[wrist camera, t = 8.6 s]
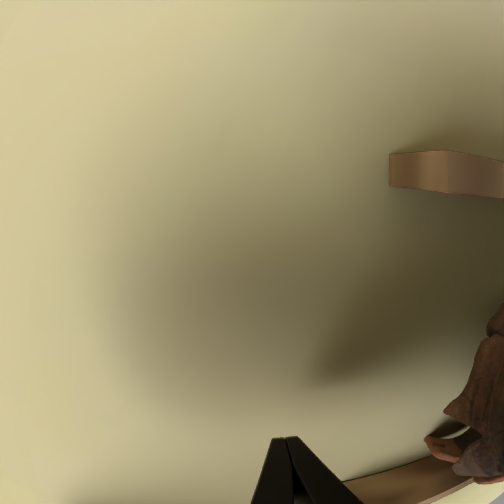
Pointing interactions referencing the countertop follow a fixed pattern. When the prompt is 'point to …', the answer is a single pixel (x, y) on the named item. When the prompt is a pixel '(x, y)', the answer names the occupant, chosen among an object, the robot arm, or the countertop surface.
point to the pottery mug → (479, 413)
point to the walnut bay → (448, 181)
